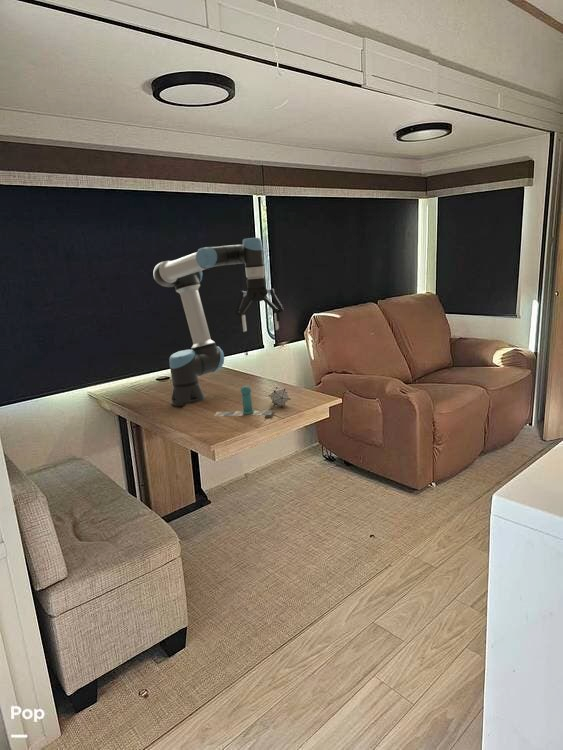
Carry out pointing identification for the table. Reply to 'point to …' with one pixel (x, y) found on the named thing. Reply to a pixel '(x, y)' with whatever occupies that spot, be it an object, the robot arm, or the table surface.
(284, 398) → the game die
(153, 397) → the table surface
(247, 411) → the pawn
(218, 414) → the board
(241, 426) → the table surface
